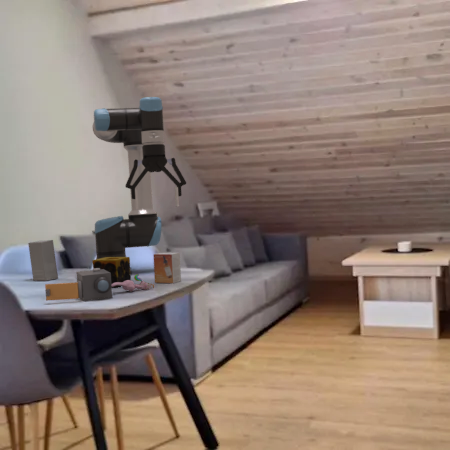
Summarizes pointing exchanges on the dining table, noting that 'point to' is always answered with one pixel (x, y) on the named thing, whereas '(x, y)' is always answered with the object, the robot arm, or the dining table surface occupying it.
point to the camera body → (95, 284)
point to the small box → (167, 267)
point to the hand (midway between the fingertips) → (157, 207)
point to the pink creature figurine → (131, 286)
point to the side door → (63, 291)
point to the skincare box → (43, 260)
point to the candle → (115, 268)
